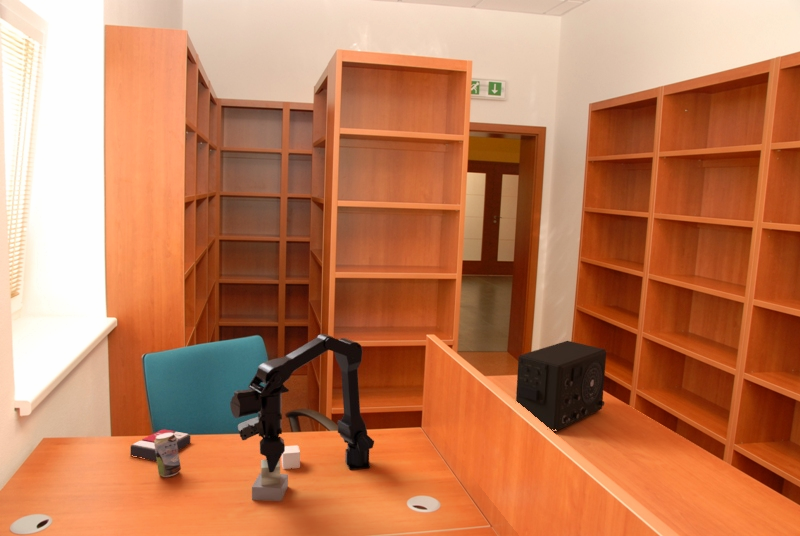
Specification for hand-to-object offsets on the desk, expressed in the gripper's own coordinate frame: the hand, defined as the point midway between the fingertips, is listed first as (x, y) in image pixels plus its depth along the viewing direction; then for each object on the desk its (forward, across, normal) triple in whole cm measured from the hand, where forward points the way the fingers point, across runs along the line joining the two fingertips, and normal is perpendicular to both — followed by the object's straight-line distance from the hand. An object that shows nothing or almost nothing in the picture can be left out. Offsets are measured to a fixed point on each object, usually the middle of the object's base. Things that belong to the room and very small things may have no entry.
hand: (270, 464), depth 167 cm
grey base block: (+9, 0, 0) cm, 9 cm away
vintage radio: (+8, -35, +110) cm, 116 cm away
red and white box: (+9, -35, -32) cm, 48 cm away
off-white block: (+8, -16, +7) cm, 19 cm away
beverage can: (+9, -17, -28) cm, 34 cm away
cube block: (+5, 0, 0) cm, 5 cm away
